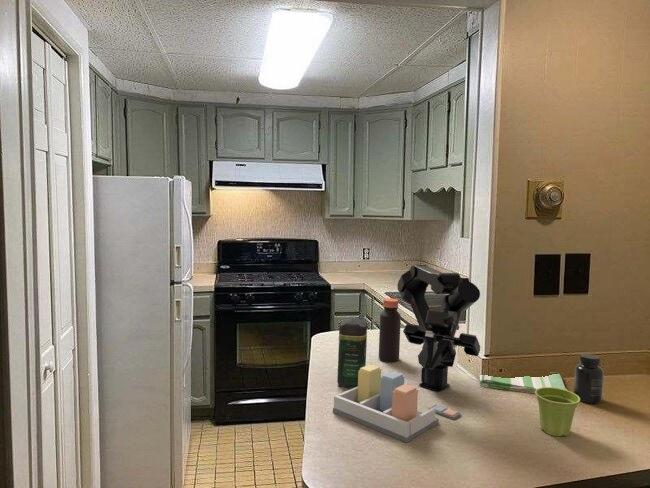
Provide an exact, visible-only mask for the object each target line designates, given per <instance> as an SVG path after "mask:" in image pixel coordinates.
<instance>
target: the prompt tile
mask: <svg viewBox="0 0 650 488" xmlns="http://www.w3.org/2000/svg"><path fill="white" fill-rule="evenodd" d="M431 408H436V413H435V415H439V416H443V417H445V418H447V419H451V420H456V419H457V418H460V417H461V415H462V412H459V411H456V410H453V409H451V408H447V407H444V406H441V405H438V404H434V405H432V406H431V407H429V408H428V410H429V409H431Z"/></svg>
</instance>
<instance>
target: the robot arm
mask: <svg viewBox="0 0 650 488" xmlns="http://www.w3.org/2000/svg"><path fill="white" fill-rule="evenodd" d="M429 285H430V290H432V291H431V292H434V294H435V295H445V296H443V299H442V302H441V304H440V308H439V310H438V311H436V310H432V309H431V308H430V306H429V303H428V302H427V301H428V300H427V299H426V297H425V295H426V292H427V289H428V287H429ZM396 287H397V291H398V293H399V294H400V296H401V298H402V299H403V300H404V301H405V302H407V303H409V304H410V307H411V309H412V311H413V314H414V316H415V319H416V322H417V323H418V324H412V323H407V324H405V326H404V328H403V331H402V332H403V334H404V336H405V338H406V340H407V341H408V342H409V343H410V344H413V345H414V344H415V345H419V346H420V345H422V347H421V348H422V349H421V350H420V352H419V353H418V356H417V360H418V364H419V365H420V366H422V367H421V372H420V373H421V374H420V376H421V377H420V378H421V379H420V381H421V382H420V383H419V386H420V387H422V388H426V389H429V390H432V391H435V392H441V391H444V390H445V389H447V388H448V387H450V386H451V384H450V383H448V372H449V367H450V368H452V367H454V363H455V359H456V357H457V356H456V355H457V350H456V348H457V347H462V348H463V352H465V355H468V356H473V357H478V356H479V354H480V351H481V345H480V342H479V340H478V337H477V335H475V334H470V333H466V332H465V333H464V332H462V333H460V334H459V336H458V337H456V333H457V331H459V330H460V325H459V323H460V321H461V318H462V315H463V312H464V311H467V310H468V309H469V308H471V307H472V306H473V305H474V304H476V303H477V302H478V300H479V299H480V296H481V291H480V289H479V288H478V287H477V285H476V284H474V283H473V282H470V278H468V277H461V275H460V274H459V272H442V271H439V270H437V269H434V268H432V267H430V266H429V265H427V264H413V265H411V267H410V268H409V270H407V271H406V272H404V273H403V274H402V275H401V276H400V278H399V280H398V282H397V286H396Z"/></svg>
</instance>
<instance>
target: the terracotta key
mask: <svg viewBox="0 0 650 488" xmlns="http://www.w3.org/2000/svg"><path fill="white" fill-rule="evenodd" d="M418 395H419V389H417V387H416V386H413V385H410V384H407V383H404V385H402V386H400V387H397V388H395V389H394V391H393V396H392V416H393V417H395V418H398V419H401V420H403V421H406V422H408V421H409V420H411V419H413V418H415V417H417V411H418V400H419V399H418V398H419V397H418Z"/></svg>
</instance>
